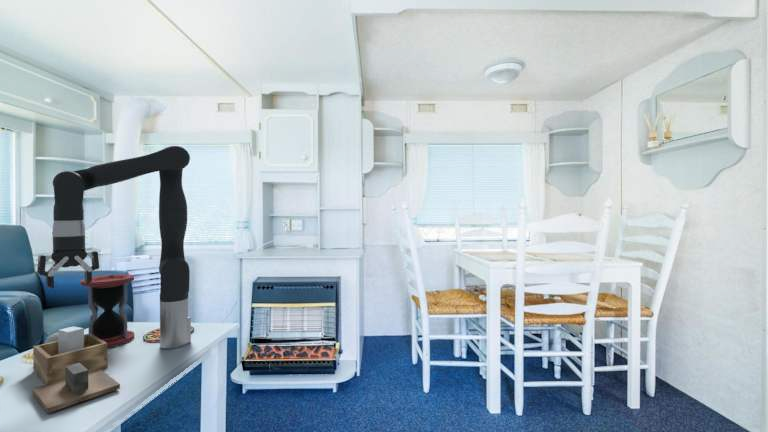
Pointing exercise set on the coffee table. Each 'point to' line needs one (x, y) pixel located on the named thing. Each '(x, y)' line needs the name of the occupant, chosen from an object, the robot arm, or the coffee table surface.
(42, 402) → the lid
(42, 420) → the coffee table surface
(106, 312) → the hourglass
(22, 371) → the coffee table surface
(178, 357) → the coffee table surface
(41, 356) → the open wooden box
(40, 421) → the coffee table surface
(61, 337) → the skincare box
